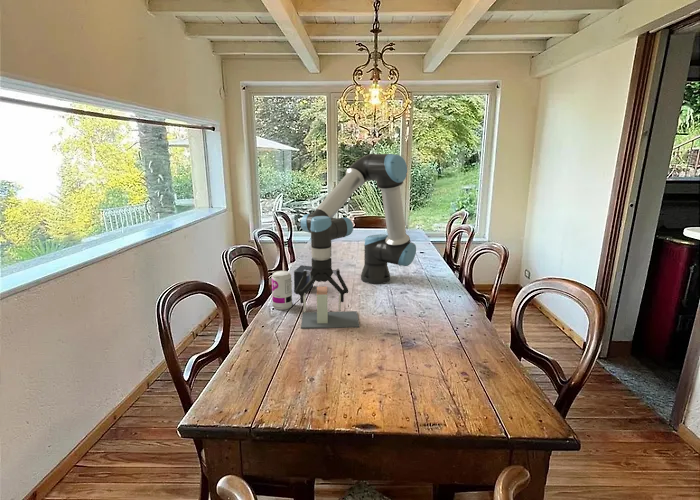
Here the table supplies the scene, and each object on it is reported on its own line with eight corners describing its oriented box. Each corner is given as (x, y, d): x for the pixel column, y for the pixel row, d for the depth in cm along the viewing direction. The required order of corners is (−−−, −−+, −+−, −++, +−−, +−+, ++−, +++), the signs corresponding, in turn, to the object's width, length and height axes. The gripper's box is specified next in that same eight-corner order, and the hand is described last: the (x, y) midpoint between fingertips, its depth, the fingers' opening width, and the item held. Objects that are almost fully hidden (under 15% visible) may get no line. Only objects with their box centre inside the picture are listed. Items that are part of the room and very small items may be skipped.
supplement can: (276, 311, 166) (274, 277, 162) (270, 305, 173) (268, 271, 170) (294, 308, 170) (293, 274, 166) (288, 301, 177) (287, 269, 173)
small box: (307, 293, 187) (306, 272, 184) (293, 292, 188) (293, 271, 185) (313, 286, 197) (313, 265, 194) (300, 285, 198) (300, 264, 195)
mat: (356, 312, 166) (356, 311, 165) (359, 327, 152) (359, 325, 152) (302, 313, 164) (302, 312, 164) (300, 328, 151) (300, 327, 151)
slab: (327, 314, 162) (327, 286, 159) (327, 323, 154) (327, 293, 151) (317, 314, 162) (317, 286, 159) (317, 323, 154) (316, 293, 151)
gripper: (353, 254, 156) (353, 305, 161) (289, 255, 155) (290, 307, 160) (355, 259, 149) (354, 313, 154) (287, 260, 147) (289, 314, 153)
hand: (322, 310), depth 157 cm, fingers open, 13 cm apart
